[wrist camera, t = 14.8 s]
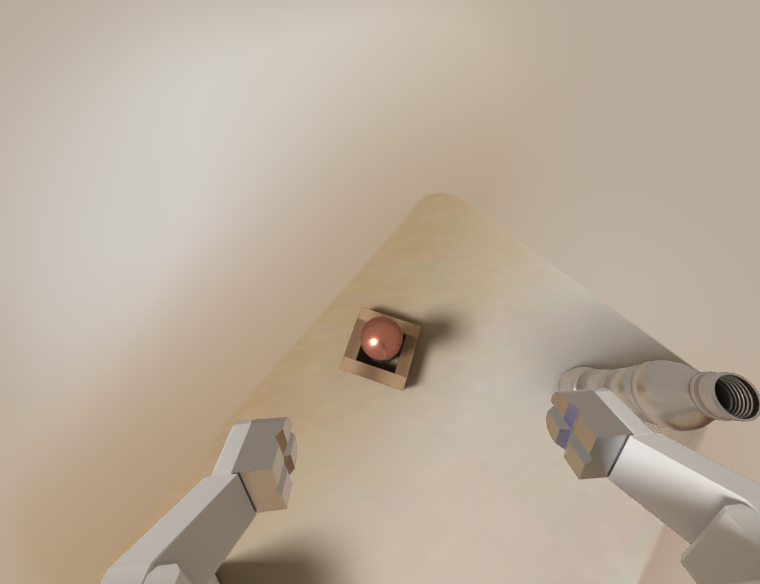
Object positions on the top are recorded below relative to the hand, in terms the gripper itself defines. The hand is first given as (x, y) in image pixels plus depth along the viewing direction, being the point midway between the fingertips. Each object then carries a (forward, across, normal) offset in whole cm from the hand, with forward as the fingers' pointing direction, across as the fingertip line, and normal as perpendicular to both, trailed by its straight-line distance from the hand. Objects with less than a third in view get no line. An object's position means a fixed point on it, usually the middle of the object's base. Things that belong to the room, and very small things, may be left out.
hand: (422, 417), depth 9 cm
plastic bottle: (+23, -27, +26) cm, 44 cm away
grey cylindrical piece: (+29, 0, +20) cm, 35 cm away
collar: (+29, 0, +20) cm, 35 cm away
